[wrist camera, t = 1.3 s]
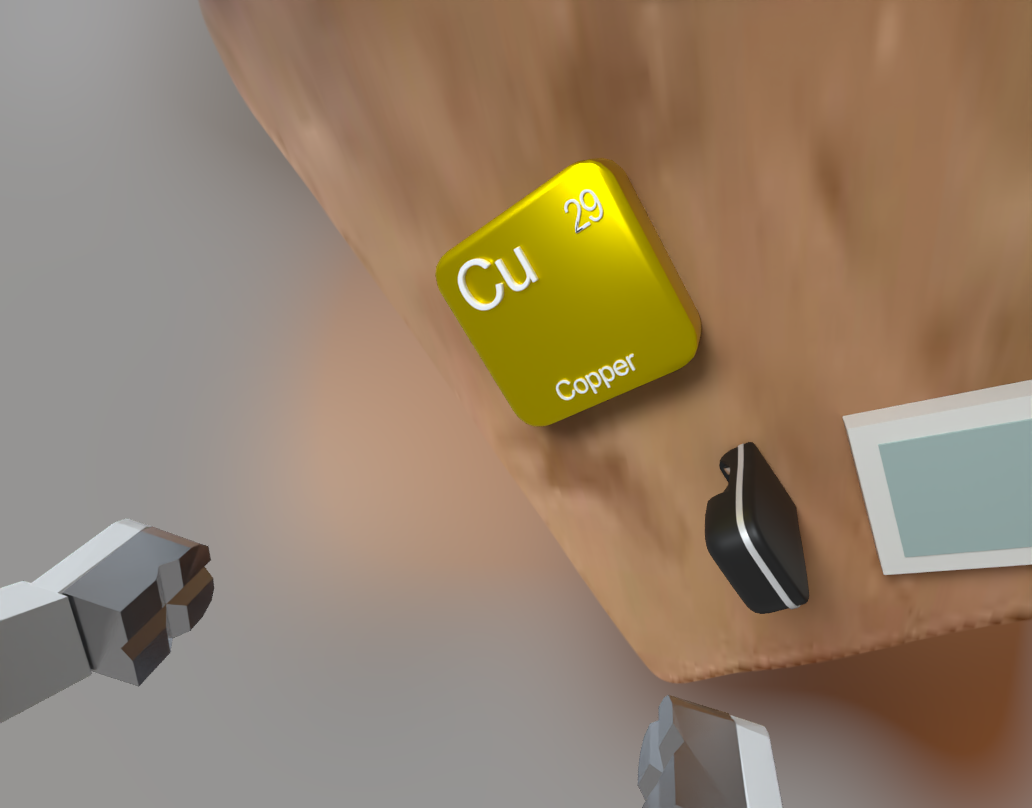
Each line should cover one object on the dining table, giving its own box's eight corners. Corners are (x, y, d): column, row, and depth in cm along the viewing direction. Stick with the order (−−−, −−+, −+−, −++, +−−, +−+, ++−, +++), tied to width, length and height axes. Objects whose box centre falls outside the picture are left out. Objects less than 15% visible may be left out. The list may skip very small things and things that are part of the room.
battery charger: (704, 456, 43) (692, 547, 33) (750, 435, 41) (753, 526, 31) (751, 524, 44) (753, 633, 34) (799, 508, 42) (815, 618, 32)
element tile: (543, 413, 47) (524, 438, 43) (449, 257, 44) (420, 268, 40) (712, 338, 39) (708, 360, 35) (612, 144, 37) (595, 144, 32)
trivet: (1072, 371, 32) (1092, 385, 30) (1093, 538, 35) (1112, 560, 34) (842, 416, 38) (847, 430, 36) (878, 557, 41) (884, 576, 39)
